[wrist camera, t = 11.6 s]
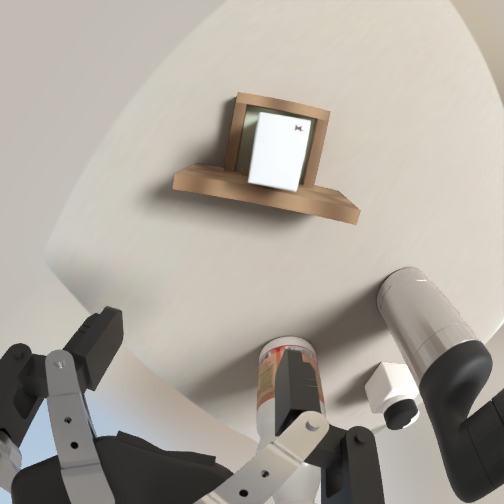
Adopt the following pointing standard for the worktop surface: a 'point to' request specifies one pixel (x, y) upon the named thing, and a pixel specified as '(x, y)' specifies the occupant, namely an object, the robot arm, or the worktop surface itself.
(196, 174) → the wooden frame stand
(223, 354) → the worktop surface
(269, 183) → the skincare box
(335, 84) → the worktop surface
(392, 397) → the medicine bottle
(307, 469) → the fruit juice
